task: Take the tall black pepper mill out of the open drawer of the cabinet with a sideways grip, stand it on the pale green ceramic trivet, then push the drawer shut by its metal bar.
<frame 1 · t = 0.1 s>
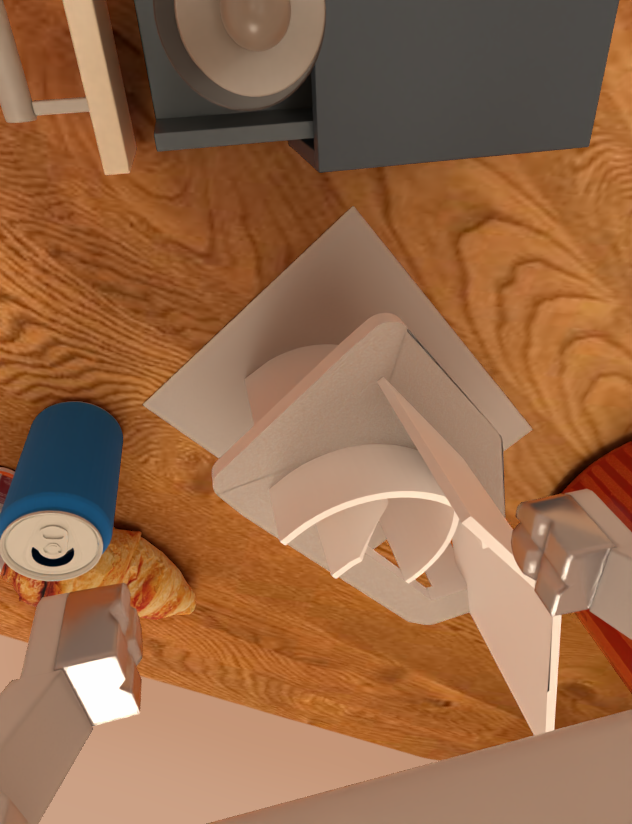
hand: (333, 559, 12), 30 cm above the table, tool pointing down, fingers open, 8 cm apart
planter: (627, 505, 63), on the table
croissant: (92, 553, 50), on the table, touching pill bottle
cabinet: (406, 12, 33), on the table
drawer: (181, 23, 27), point 4 cm above the table, slide at 9.0 cm, touching pepper mill
pepper mill: (211, 22, 29), point 2 cm above the table, touching drawer
beverage can: (79, 430, 43), on the table
architectural model: (357, 417, 48), on the table
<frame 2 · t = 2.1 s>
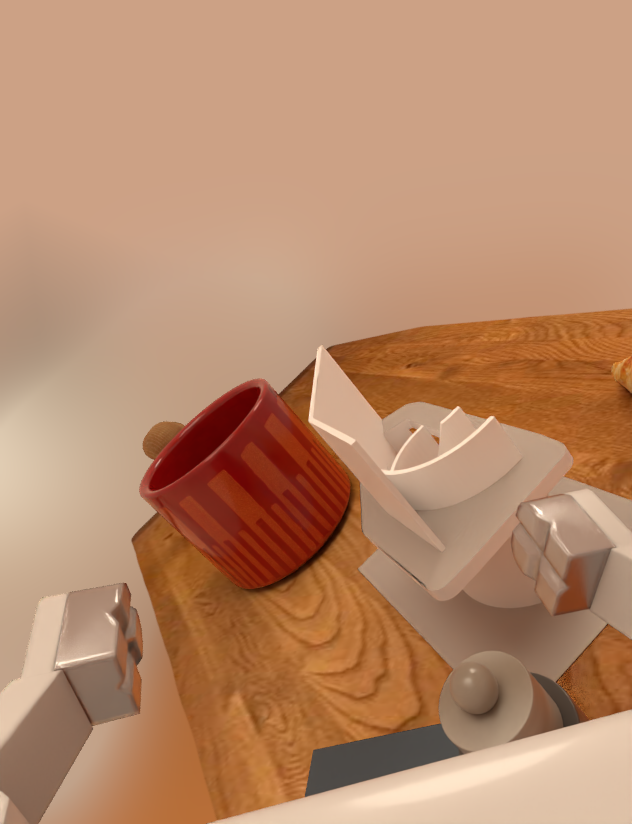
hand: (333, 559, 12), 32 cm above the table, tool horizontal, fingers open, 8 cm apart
planter: (294, 529, 84), on the table
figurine: (224, 499, 112), on the table
architectural model: (492, 552, 55), on the table
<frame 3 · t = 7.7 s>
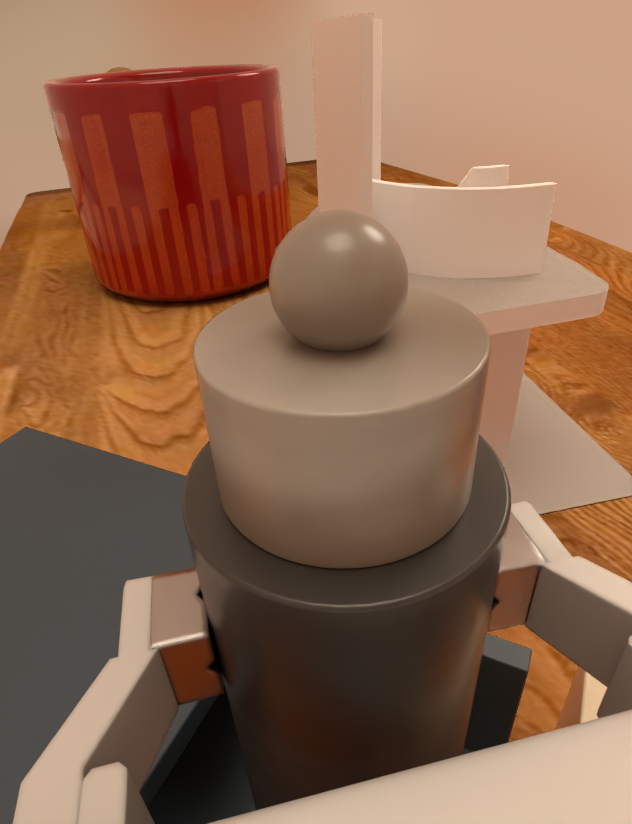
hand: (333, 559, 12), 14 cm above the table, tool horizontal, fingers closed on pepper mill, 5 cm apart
planter: (198, 270, 68), on the table
cabinet: (98, 725, 23), on the table
architectural model: (395, 397, 43), on the table
when the fingers open (13 cm above the table, at t = 19.5 s): pepper mill stays where it is, resting on trivet.
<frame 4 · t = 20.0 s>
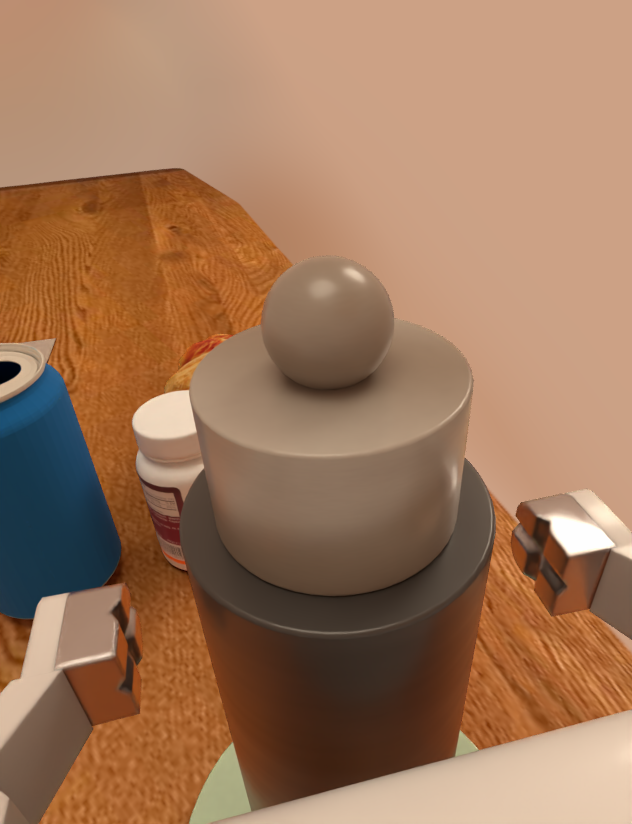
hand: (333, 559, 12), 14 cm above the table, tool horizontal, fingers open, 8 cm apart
croissant: (245, 433, 39), on the table, touching pill bottle
beverage can: (62, 577, 29), on the table
pill bottle: (206, 542, 31), on the table, touching croissant
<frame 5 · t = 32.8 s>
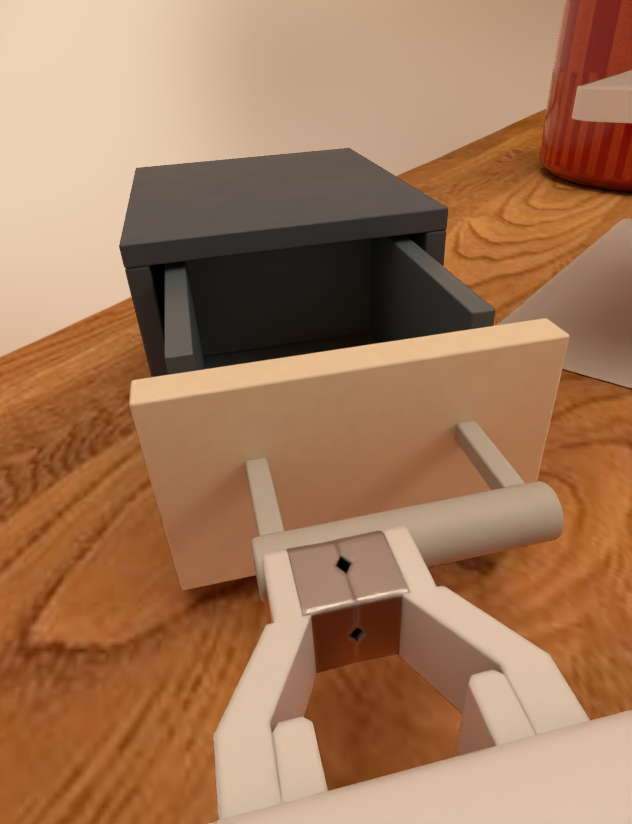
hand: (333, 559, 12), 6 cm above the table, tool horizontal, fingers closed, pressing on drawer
cabinet: (279, 345, 32), on the table
drawer: (325, 388, 20), point 4 cm above the table, slide at 8.4 cm, touching gripper
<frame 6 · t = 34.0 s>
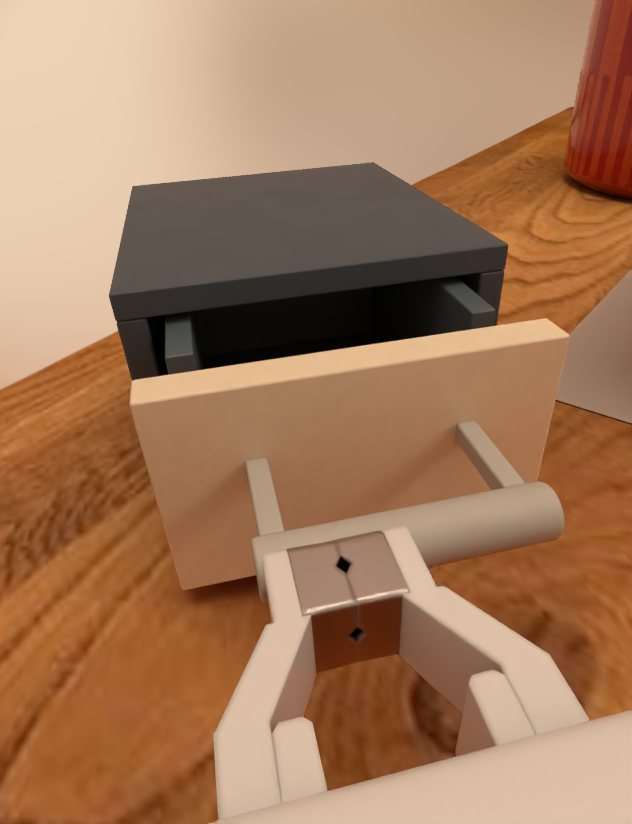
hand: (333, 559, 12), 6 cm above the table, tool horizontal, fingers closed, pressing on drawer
cabinet: (295, 387, 29), on the table
drawer: (325, 388, 20), point 4 cm above the table, slide at 3.6 cm, touching gripper
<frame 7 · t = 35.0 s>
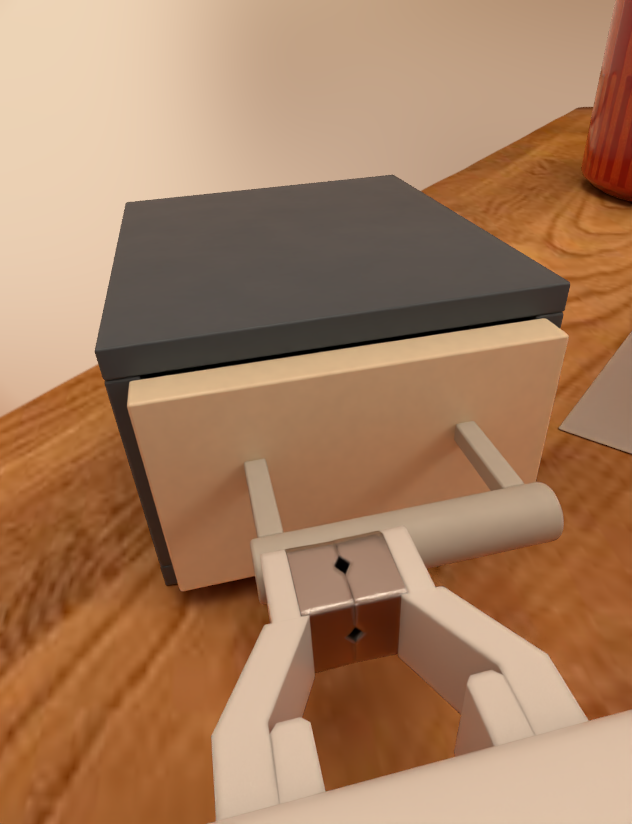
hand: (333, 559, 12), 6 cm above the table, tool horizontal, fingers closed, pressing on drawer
cabinet: (308, 426, 26), on the table
drawer: (324, 388, 20), point 4 cm above the table, slide at 0.0 cm, touching cabinet, gripper
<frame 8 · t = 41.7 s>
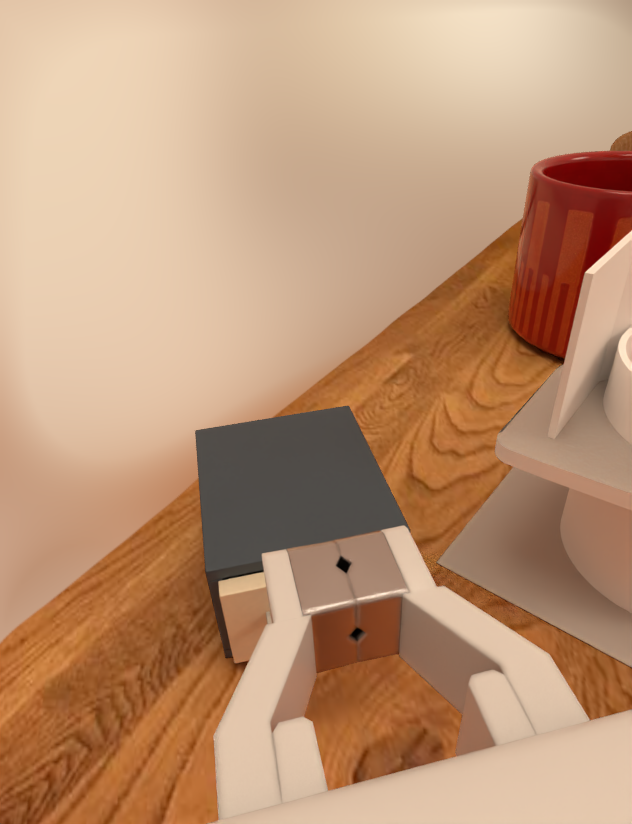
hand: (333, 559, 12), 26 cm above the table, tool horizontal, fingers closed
planter: (596, 332, 75), on the table
cabinet: (297, 557, 45), on the table
drawer: (303, 556, 40), point 4 cm above the table, slide at 0.0 cm, touching cabinet
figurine: (614, 257, 98), on the table
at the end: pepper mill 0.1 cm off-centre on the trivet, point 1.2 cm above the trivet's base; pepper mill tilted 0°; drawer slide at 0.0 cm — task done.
